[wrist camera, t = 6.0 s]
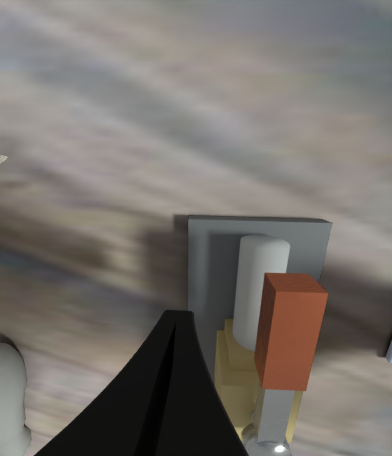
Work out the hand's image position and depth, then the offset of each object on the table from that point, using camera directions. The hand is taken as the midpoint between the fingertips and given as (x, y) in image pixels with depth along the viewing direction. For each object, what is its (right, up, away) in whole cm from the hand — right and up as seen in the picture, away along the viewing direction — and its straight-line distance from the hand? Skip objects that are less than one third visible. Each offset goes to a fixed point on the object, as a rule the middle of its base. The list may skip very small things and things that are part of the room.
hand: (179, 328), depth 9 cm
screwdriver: (-19, -17, +13) cm, 29 cm away
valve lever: (+5, -3, +1) cm, 6 cm away
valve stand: (+5, -6, +9) cm, 12 cm away
